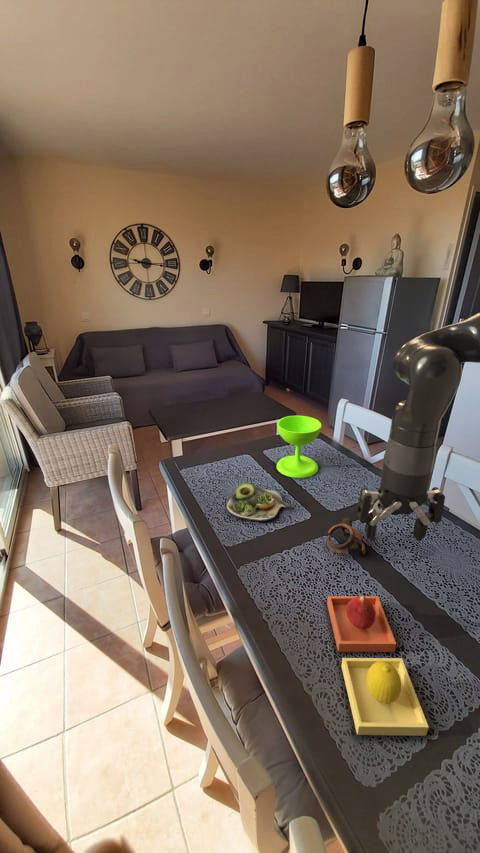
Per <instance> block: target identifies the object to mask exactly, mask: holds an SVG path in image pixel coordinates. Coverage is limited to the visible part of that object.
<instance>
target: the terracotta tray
mask: <svg viewBox="0 0 480 853" xmlns="http://www.w3.org/2000/svg"><path fill="white" fill-rule="evenodd" d="M361 596H362V595H359V596H358V595H351V596H350V595H349V596H348V595H342V596H341V595H339V596H338V595H334V596H333V595H328V596H327V603H326V605H327V611H328V613H329V614H328V615H329V618H330V622H331V627H332V631H333V637H334V640H335V645H336V649H337V653H395V652H396V648H397V642H396V639H395V637H394V634H393V631H392V629H391V626H390V624H389V621H388V618H387V616H386V613H385V610H384V608H383V605H382V603H381V601H380V599H379V596H378V595H376V596H375V595H374V596H373V595H367V596H366V595H363V596H364V597H365V598H366V599H368V600H369V601H370V602H371V603H372V605H373V606H374V609H375V613H376V615H375V622H374V623H373V625H372V626H371V627H369V628H367V629H360V628H357V627H355V626H354V625H352V624H351V622H350V621H349V619H348V617H347V612H346V608H347V605H348V603H349V601H350V600H352V599H353V598H355V597H361Z"/></svg>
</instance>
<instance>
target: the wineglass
mask: <svg viewBox="0 0 480 853" xmlns="http://www.w3.org/2000/svg"><path fill="white" fill-rule="evenodd" d="M276 427H277V431H278V434H279V436H280V437H281V438H282V439H283V441H284V442H286V443H288V444H290V445H292V446H295V448H294V449H295V451H294V454H292V455H287V456H284V457H282V458H280V459H279V460H278V461H277V463H276V471H278V472H279V473H280V474H281V475H284V476H286V477H289V478H295V479H305V478H309V477H312V476H314V475H316V474H317V473H318V471H319V465H318V463H317V462H316V461H315V460H314V459H313V458H311V457H307V456H304V455H301V449H302V448H301V447H302V446H306V445H309V444H311V443H313V442H314V441H315V440H316V439H317V438H318V436H319V435H320V433H321V430H322V423H321V421H320V420H318V419H316V418H315V417H311V416H306V415H287V416H283V417H282V418H280V419H278V421H277V422H276Z"/></svg>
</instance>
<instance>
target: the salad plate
mask: <svg viewBox="0 0 480 853" xmlns="http://www.w3.org/2000/svg"><path fill="white" fill-rule="evenodd" d="M289 507H290V503H288V502H287V501H284V500H283V498H282V496H281V494H280V493H279V492H277V491H276V490H271V489H266V488H261V487H258V486H257V485H256V484H253V483H250V482H243V483H241V484H239V485H238V486H236V488H235V490H234V491H233V494H232V495H231V497H230V499H229V500H228V502H227V503H226V505H225V509H226V511H227V513H229V514H230V515H231V516H232V517H235V518H237V519H243V520H246V521H247V520H248V521H258V522H259V521H260V522H265V521H270V520H272V519H275V517H276V516H277V515H278V513H279V511H280V510H281V509H282V508H289Z"/></svg>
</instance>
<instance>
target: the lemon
mask: <svg viewBox="0 0 480 853" xmlns="http://www.w3.org/2000/svg"><path fill="white" fill-rule="evenodd" d="M367 686H368V690H369V692H370V694H371V695H372V696H373V698H374V699H376V700H377V701H378V702H380V703H383V704H391V703H393V702H395V701H396V700H397V698H398V697H399V695H400V692H401V680H400V676H399V674H398V671H397V670H396V669H395V667H394V666H393V665H391V664H390V663H388V662H386V661H377V662H375V663H374V664H372V666H371V667H370V669H369V670H368V674H367Z"/></svg>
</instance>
